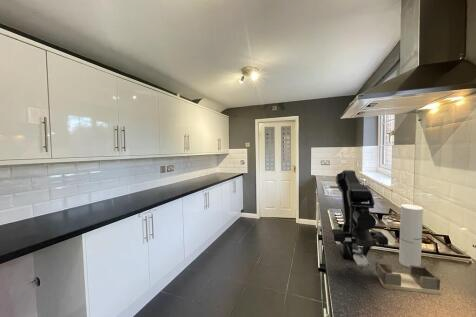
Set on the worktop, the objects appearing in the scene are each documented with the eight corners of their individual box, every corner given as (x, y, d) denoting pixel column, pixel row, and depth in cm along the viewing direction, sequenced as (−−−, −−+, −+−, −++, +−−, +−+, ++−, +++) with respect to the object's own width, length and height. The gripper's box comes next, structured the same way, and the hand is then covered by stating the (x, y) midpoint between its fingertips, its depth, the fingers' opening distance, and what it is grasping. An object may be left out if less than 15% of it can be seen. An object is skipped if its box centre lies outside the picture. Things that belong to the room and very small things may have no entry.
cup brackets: (375, 271, 82) (375, 262, 82) (425, 276, 78) (425, 266, 78) (384, 284, 75) (384, 274, 74) (439, 290, 71) (440, 279, 70)
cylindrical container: (424, 269, 84) (427, 209, 82) (405, 267, 85) (407, 209, 83) (413, 259, 91) (415, 204, 89) (395, 258, 92) (397, 204, 90)
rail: (347, 251, 88) (347, 242, 87) (358, 252, 87) (358, 243, 86) (357, 268, 76) (357, 258, 76) (369, 269, 75) (369, 259, 75)
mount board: (374, 273, 82) (374, 270, 82) (424, 278, 79) (424, 275, 79) (384, 288, 74) (384, 284, 74) (440, 294, 70) (440, 291, 70)
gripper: (337, 225, 74) (337, 267, 75) (396, 229, 70) (395, 272, 71) (330, 215, 85) (330, 251, 86) (381, 217, 81) (380, 255, 82)
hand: (357, 257), depth 81 cm, fingers closed on rail, 4 cm apart
